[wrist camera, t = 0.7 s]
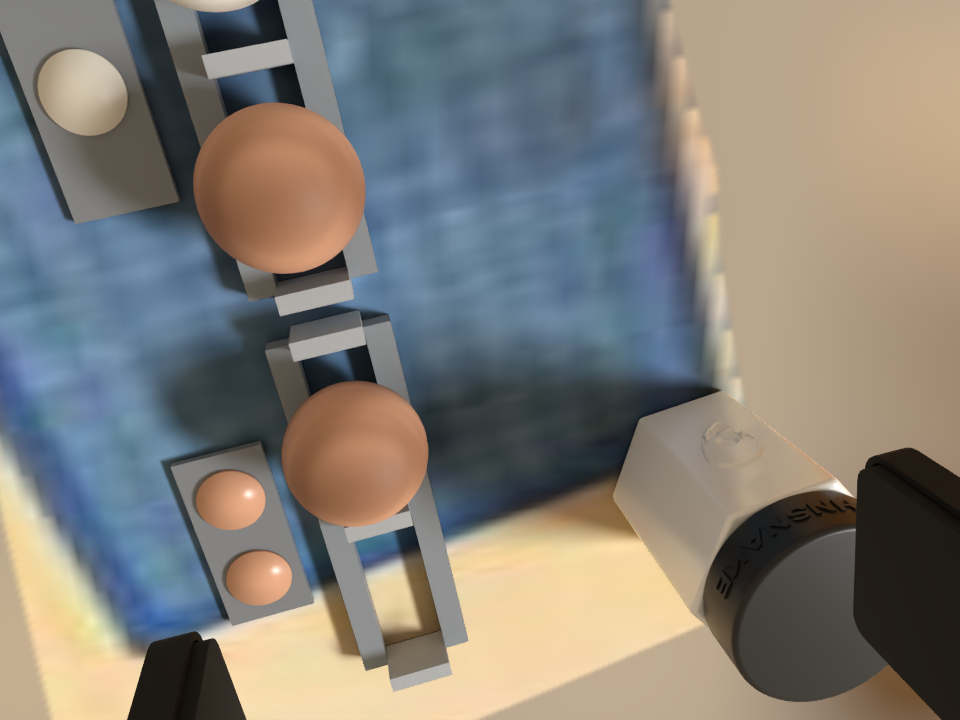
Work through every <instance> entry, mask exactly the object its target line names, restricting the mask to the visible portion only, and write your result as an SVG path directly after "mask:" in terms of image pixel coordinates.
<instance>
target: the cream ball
mask: <svg viewBox="0 0 960 720" xmlns="http://www.w3.org/2000/svg"><path fill="white" fill-rule="evenodd" d="M169 1H171V2H173V3H175V4H178V5H180V6H182V7H186V8H189V9H193V10H198V11H204V12H226V11H233V10H237V9H241V8H244V7H247V6H249V5H251V4H253V3H255V2H257V1H258V0H169Z"/></svg>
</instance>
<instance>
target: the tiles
mask: <svg viewBox="0 0 960 720" xmlns="http://www.w3.org/2000/svg"><path fill="white" fill-rule="evenodd" d="M0 32H1V35H2V37H3V40H4V43H5V45H6V48H7V50H8V53H9V55H10V58H11V61H12V63H13V66H14V68H15V71H16V73H17V76H18V78H19V81H20V84H21V86H22V89H23V91H24V94H25V96H26V99H27V101H28V104H29V107H30V109H31V112H32V114H33V117H34V119H35V122H36V125H37V127H38V130H39V132H40V135H41V137H42V140H43V142H44V145H45V148H46V150H47V153H48V155H49V158H50V160H51V163H52V165H53V168H54V171H55V173H56V176H57V178H58V181H59V183H60V186H61V189H62V191H63V194H64V196H65V199H66V201H67V204H68V206H69V209H70V212H71V214H72V217H73V219H74V222H75V224H79V223H83V222H88V221H93V220H97V219H102V218H106V217H111V216H116V215H120V214H125V213H130V212H134V211H139V210H144V209H148V208H153V207H157V206H162V205H167V204H171V203H176V202H180V201H181V198H180V195H179V192H178V189H177V186H176V183H175V180H174V177H173V174H172V171H171V168H170V165H169V162H168V159H167V156H166V153H165V150H164V147H163V144H162V141H161V138H160V135H159V132H158V129H157V126H156V123H155V120H154V117H153V114H152V111H151V108H150V105H149V102H148V99H147V96H146V93H145V90H144V87H143V84H142V81H141V78H140V75H139V72H138V69H137V66H136V63H135V60H134V57H133V54H132V51H131V48H130V45H129V42H128V39H127V36H126V33H125V30H124V27H123V24H122V21H121V18H120V15H119V12H118V9H117V6H116V3H115V0H0ZM170 468H171V470H172V473H173V475H174V478H175V480H176V483H177V485H178V488H179V491H180V493H181V496H182V498H183V501H184V503H185V506H186V508H187V511H188V514H189V516H190V519H191V521H192V524H193V526H194V529H195V532H196V534H197V537H198V539H199V542H200V544H201V547H202V549H203V552H204V555H205V557H206V560H207V562H208V565H209V567H210V570H211V572H212V575H213V578H214V580H215V583H216V585H217V588H218V590H219V593H220V595H221V598H222V601H223V603H224V606H225V608H226V611H227V613H228V616H229V619H230V621H231V624H232V626H234V625H237V624H241V623H244V622H248V621H251V620H255V619H259V618H262V617H266V616H269V615H273V614H277V613H280V612H284V611H287V610H291V609H295V608H298V607H302V606H305V605H309V604H313V603H314V597H313V594H312V591H311V588H310V585H309V582H308V579H307V576H306V573H305V570H304V567H303V564H302V561H301V558H300V555H299V552H298V549H297V546H296V543H295V540H294V537H293V534H292V531H291V528H290V525H289V522H288V519H287V516H286V513H285V510H284V507H283V504H282V501H281V498H280V495H279V492H278V489H277V486H276V483H275V480H274V477H273V474H272V471H271V468H270V465H269V462H268V459H267V456H266V453H265V450H264V447H263V444H262V441H257V442H253V443H249V444H245V445H241V446H237V447H233V448H229V449H225V450H221V451H217V452H213V453H209V454H205V455H201V456H197V457H193V458H189V459H185V460H181V461H178V462H174V463H172V464H171V467H170Z"/></svg>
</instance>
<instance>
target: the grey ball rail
mask: <svg viewBox="0 0 960 720" xmlns="http://www.w3.org/2000/svg"><path fill="white" fill-rule="evenodd" d="M154 2H155V5H156V8H157V11H158V14H159V17H160V21H161V24H162V27H163V30H164V33H165V36H166V40H167V43H168V46H169V49H170V52H171V55H172V59H173V62H174V65H175V68H176V71H177V74H178V78H179V81H180V84H181V87H182V90H183V93H184V97H185V100H186V103H187V106H188V109H189V112H190V116H191V119H192V122H193V125H194V128H195V131H196V135H197V138H198V141H199V144H200V147H201V148H202V146H203V144H204V142H205V141H206V139H207V138H208V136H209V135H210V133H211V132H212V131H213V130H214V129H215V128H216V126H217V125H218V124H220V123H221V122H222V121H223V120H224V119H226V118H227V117H228V114H227V111H226V107H225V104H224V101H223V97H222V94H221V91H220V87H219V84H218V80H217V79H219V78H224V77H229V76H234V75H239V74H244V73H249V72H254V71H259V70H265V69H270V68H275V67H280V66H285V65H290V64H294V65H295V68H296V72H297V76H298V80H299V84H300V88H301V92H302V95H303V99H304V103H305V107H306V109H309V110H311V111H313V112H315V113H317V114H319V115H321V116H322V117H324V118H326V119H327V120H328V121H330V122H331V123H332V124H334V125H335V126H336V127H337V128H338V129H339V130H340V131H341V132H342V133H343V134H344V129H343V125H342V121H341V117H340V113H339V109H338V105H337V101H336V97H335V93H334V89H333V84H332V80H331V76H330V72H329V68H328V64H327V60H326V56H325V52H324V48H323V44H322V39H321V35H320V31H319V27H318V23H317V19H316V15H315V11H314V7H313V3H312V0H278V3H279V7H280V11H281V15H282V18H283V22H284V26H285V30H286V34H287V38H288V40H287V39H283V40H278V41H273V42H268V43H263V44H258V45H252V46H247V47H242V48H237V49H232V50H227V51H222V52H217V53H212V54H209V50H208V47H207V44H206V40H205V37H204V33H203V30H202V27H201V23H200V20H199V17H198V13H197V10H193V9H189V8H186V7H182V6H180V5H178V4H175V3H173V2H171V1H169V0H154ZM344 136H345V134H344ZM343 253H344V257H345V261H346V265H347V266H346V267H341V268H337V269H333V270H328V271H324V272H320V273H315V274H311V275H307V276H302V277H298V278H294V279H289V280H285V281H281V282H277V279H276V275H275V273H270V272H265V271H261V270H258V269H255V268H252V267H249V266H247V265H245V264H243V263H241V262H239V261H238V260H236V261H237V265H238V268H239V271H240V274H241V277H242V280H243V284H244V287H245V290H246V293H247V296H248V299H249V302H251V301H255V300H260V299H264V298H268V297H273V296H275V297H274V298H275V301H276V304H277V308H278V311H279V314H280V316H284V315H288V314H292V313H296V312H301V311H305V310H309V309H313V308H318V307H322V306H326V305H330V304H335V303H339V302H343V301H347V300H352V299H354V293H353V286H352V281H351V278H354V277H359V276H363V275H367V274H372V273H376V272H378V269H377V264H376V260H375V256H374V252H373V248H372V244H371V240H370V236H369V232H368V228H367V224H366V219H365V215H364V211H363V215H362V219H361V221H360V224H359V227H358V229H357V230H356V232H355V234H354V236H353V237H352V239H351V240H350V242H349V243H348V244H347V245H346V246H345V247H344V249H343ZM365 338H366V340H365ZM366 342H367V346H368V349H369V353H370V357H371V361H372V365H373V369H374V372H375V376H376V380H377V384H379V385H382V386H385V387H387V388H389V389H391V390H393V391H394V392H396V393H398V394H399V395H400V396H401V397H403V398H404V399H405V400H406V401H407V402H408V403H409V404H410V399H409V395H408V391H407V387H406V383H405V379H404V375H403V371H402V367H401V363H400V359H399V354H398V350H397V346H396V342H395V338H394V334H393V330H392V326H391V322H390V318H389V314H387V315H382V316H378V317H374V318H370V319H366V320H361V316H360V312H359V310H356V311H352V312H348V313H343V314H339V315H335V316H331V317H327V318H322V319H318V320H314V321H310V322H305V323H301V324H297V325H293V326H291V327H290V336H289V338H286V339H282V340H278V341H274V342H269V343H266V347H265V353H266V356H267V360H268V363H269V366H270V369H271V372H272V375H273V379H274V382H275V385H276V388H277V391H278V394H279V398H280V401H281V404H282V407H283V410H284V413H285V417H286V420H287V423H288V424H289V422H290V420H291V418H292V416H293V415H294V413H295V412H296V411H297V409H298V408H299V407H300V406H301V405H302V404H303V403H304V402H305V400H307V399H308V398H309V397H310V396H311V393H310V389H309V386H308V383H307V379H306V376H305V373H304V369H303V366H302V362H301V360H304V359H308V358H313V357H317V356H321V355H325V354H329V353H333V352H337V351H342V350H346V349H350V348H354V347H358V346H362V345H366ZM410 405H411V404H410ZM411 515H412V516H411ZM317 518H318V517H317ZM412 519H413V521H412ZM318 521H319V524H320V527H321V531H322V534H323V537H324V540H325V543H326V546H327V550H328V553H329V556H330V559H331V562H332V565H333V569H334V572H335V575H336V578H337V581H338V584H339V588H340V591H341V594H342V597H343V600H344V603H345V607H346V610H347V613H348V616H349V619H350V622H351V626H352V629H353V632H354V635H355V638H356V641H357V645H358V648H359V651H360V654H361V657H362V660H363V664H364V667H365V670H366V671H367V670H371V669H374V668H378V667H381V666H385V665H388V668H389V677H390V682H391V685H392V688H393V692H395V691H398V690H402V689H405V688H408V687H412V686H415V685H419V684H422V683H425V682H429V681H432V680H436V679H439V678H442V677H446V676H449V675H452V671H451V667H450V662H449V658H448V653H447V647H450V646H454V645H457V644H460V643H464V642H467V641H468V637H467V633H466V628H465V624H464V620H463V616H462V612H461V608H460V604H459V600H458V596H457V592H456V588H455V583H454V579H453V575H452V571H451V567H450V563H449V559H448V555H447V551H446V547H445V543H444V538H443V534H442V530H441V526H440V522H439V518H438V514H437V510H436V506H435V502H434V498H433V493H432V489H431V485H430V481H429V477H428V473H427V469H426V472H425V476H424V478H423V481H422V483H421V485H420V487H419V489H418V491H417V492H416V494H415V495H414V497H413V498H412V499H411V500H410V502H409V503H408V504H407V505H406V506H405V507H403V508H402V509H401V510H400V511H399V512H397V513H396V514H395V515H393V516H391V517H390V518H388V519H386V520H383V521H381V522H378V523H375V524H372V525H367V526H360V527H346V526H339V525H335V524H331V523H329V522H326V521H323V520H322V519H320V518H318ZM413 523H414V526H415V530H416V534H417V538H418V542H419V546H420V549H421V553H422V557H423V561H424V565H425V569H426V573H427V576H428V580H429V584H430V588H431V592H432V596H433V600H434V603H435V607H436V611H437V615H438V619H439V623H440V626H441V631H437V632H434V633H430V634H427V635H424V636H420V637H417V638H413V639H410V640H406V641H403V642H399V643H396V644H392V645H389V646H386V644H385V641H384V638H383V634H382V631H381V628H380V624H379V621H378V618H377V614H376V611H375V608H374V604H373V601H372V597H371V594H370V591H369V587H368V584H367V581H366V577H365V574H364V571H363V567H362V564H361V561H360V557H359V554H358V550H357V547H356V544H355V541H358V540H362V539H365V538H369V537H373V536H377V535H380V534H384V533H388V532H391V531H395V530H399V529H402V528H406V527H410V526H413Z"/></svg>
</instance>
